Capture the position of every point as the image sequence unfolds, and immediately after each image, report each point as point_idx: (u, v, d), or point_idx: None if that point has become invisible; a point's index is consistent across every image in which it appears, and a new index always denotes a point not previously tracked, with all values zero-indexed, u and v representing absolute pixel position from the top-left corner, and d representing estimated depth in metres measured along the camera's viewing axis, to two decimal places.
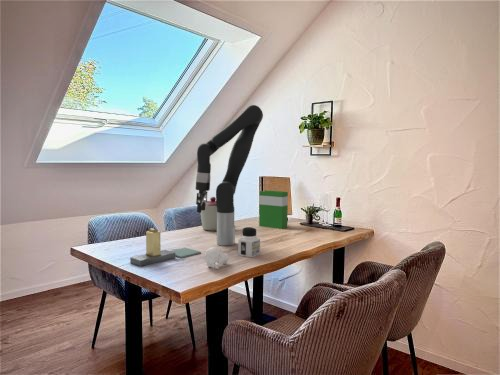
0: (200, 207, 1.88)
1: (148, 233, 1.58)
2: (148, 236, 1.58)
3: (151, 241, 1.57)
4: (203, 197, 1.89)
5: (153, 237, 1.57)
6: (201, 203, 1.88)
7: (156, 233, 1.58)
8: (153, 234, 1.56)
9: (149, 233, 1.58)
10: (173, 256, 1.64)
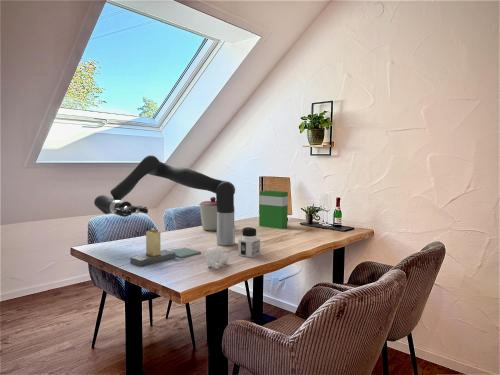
0: (126, 210, 1.64)
1: (148, 233, 1.58)
2: (148, 236, 1.58)
3: (151, 241, 1.57)
4: (124, 207, 1.69)
5: (153, 237, 1.57)
6: (123, 209, 1.65)
7: (156, 233, 1.58)
8: (153, 234, 1.56)
9: (149, 233, 1.58)
10: (173, 256, 1.64)
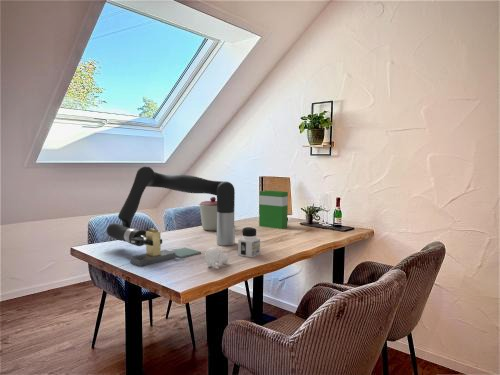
0: (147, 241, 1.57)
1: (148, 233, 1.58)
2: (148, 236, 1.58)
3: None
4: (141, 237, 1.61)
5: (153, 237, 1.57)
6: (144, 239, 1.58)
7: (156, 233, 1.58)
8: (153, 234, 1.56)
9: (149, 233, 1.58)
10: (173, 256, 1.64)
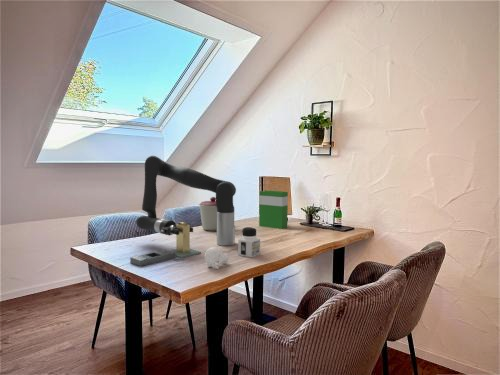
0: (173, 230, 1.69)
1: (178, 226, 1.70)
2: (179, 229, 1.70)
3: (181, 234, 1.69)
4: (170, 226, 1.73)
5: (183, 230, 1.69)
6: (170, 229, 1.70)
7: (186, 226, 1.70)
8: (183, 227, 1.69)
9: (179, 226, 1.70)
10: (173, 256, 1.64)
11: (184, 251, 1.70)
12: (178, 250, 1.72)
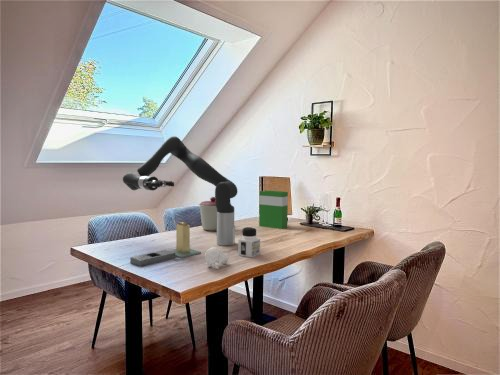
0: (155, 183, 1.81)
1: (178, 226, 1.70)
2: (179, 229, 1.70)
3: (181, 234, 1.69)
4: (152, 181, 1.86)
5: (183, 230, 1.69)
6: (152, 182, 1.82)
7: (186, 226, 1.70)
8: (183, 227, 1.69)
9: (179, 226, 1.70)
10: (173, 256, 1.64)
11: (184, 251, 1.70)
12: (178, 250, 1.72)
